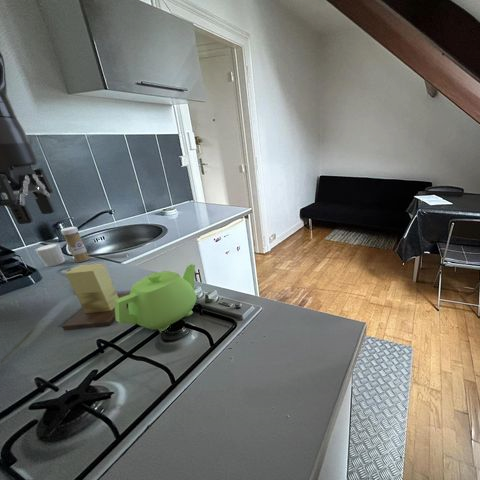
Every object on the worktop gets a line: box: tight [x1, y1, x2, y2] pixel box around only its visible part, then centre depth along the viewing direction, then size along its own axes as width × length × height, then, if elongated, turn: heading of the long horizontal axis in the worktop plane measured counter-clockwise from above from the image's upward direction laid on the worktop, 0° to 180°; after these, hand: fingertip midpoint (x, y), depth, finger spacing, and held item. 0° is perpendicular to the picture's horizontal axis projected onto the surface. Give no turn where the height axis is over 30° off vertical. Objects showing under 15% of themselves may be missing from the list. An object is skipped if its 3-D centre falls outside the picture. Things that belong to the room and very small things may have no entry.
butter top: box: [65, 263, 113, 295], centre depth 66 cm, size 6×4×6 cm, turn 94°
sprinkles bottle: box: [60, 226, 91, 263], centre depth 100 cm, size 5×5×14 cm
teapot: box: [114, 263, 198, 333], centre depth 64 cm, size 20×13×13 cm
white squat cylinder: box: [34, 243, 66, 268], centre depth 100 cm, size 7×7×7 cm
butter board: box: [61, 283, 130, 331], centre depth 69 cm, size 11×13×7 cm
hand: (38, 218), depth 59 cm, fingers open, 8 cm apart
